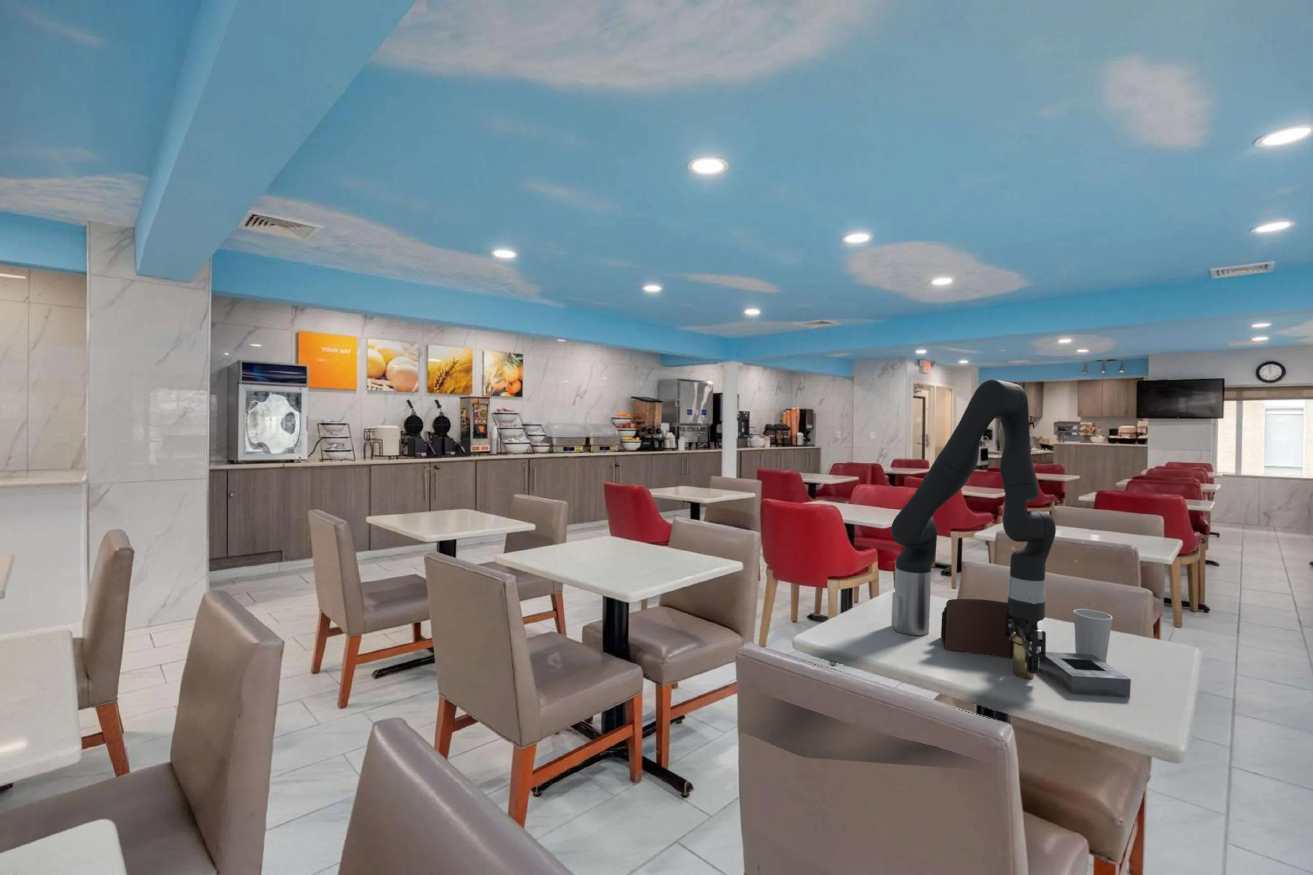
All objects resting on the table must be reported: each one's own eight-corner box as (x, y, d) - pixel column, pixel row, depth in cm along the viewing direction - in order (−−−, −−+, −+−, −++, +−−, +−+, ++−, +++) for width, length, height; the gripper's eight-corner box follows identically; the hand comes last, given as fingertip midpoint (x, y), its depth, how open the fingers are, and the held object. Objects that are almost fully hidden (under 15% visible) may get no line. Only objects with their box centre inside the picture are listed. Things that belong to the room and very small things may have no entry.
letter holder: (1032, 662, 156) (1034, 605, 155) (944, 650, 162) (946, 596, 162) (1023, 648, 165) (1025, 594, 164) (940, 637, 172) (942, 586, 171)
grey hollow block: (1071, 693, 138) (1072, 675, 138) (1038, 667, 152) (1039, 651, 151) (1129, 697, 137) (1130, 678, 136) (1091, 670, 150) (1092, 654, 150)
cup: (1098, 670, 151) (1101, 621, 150) (1064, 658, 158) (1066, 611, 157) (1117, 664, 154) (1119, 616, 154) (1082, 653, 162) (1084, 607, 161)
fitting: (1016, 678, 145) (1018, 640, 145) (1006, 670, 150) (1008, 632, 150) (1039, 680, 144) (1041, 641, 144) (1028, 671, 149) (1030, 633, 149)
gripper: (996, 587, 154) (993, 652, 155) (1024, 605, 140) (1021, 676, 140) (1028, 588, 153) (1025, 654, 154) (1059, 606, 139) (1056, 678, 140)
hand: (1023, 665), depth 147 cm, fingers open, 8 cm apart
